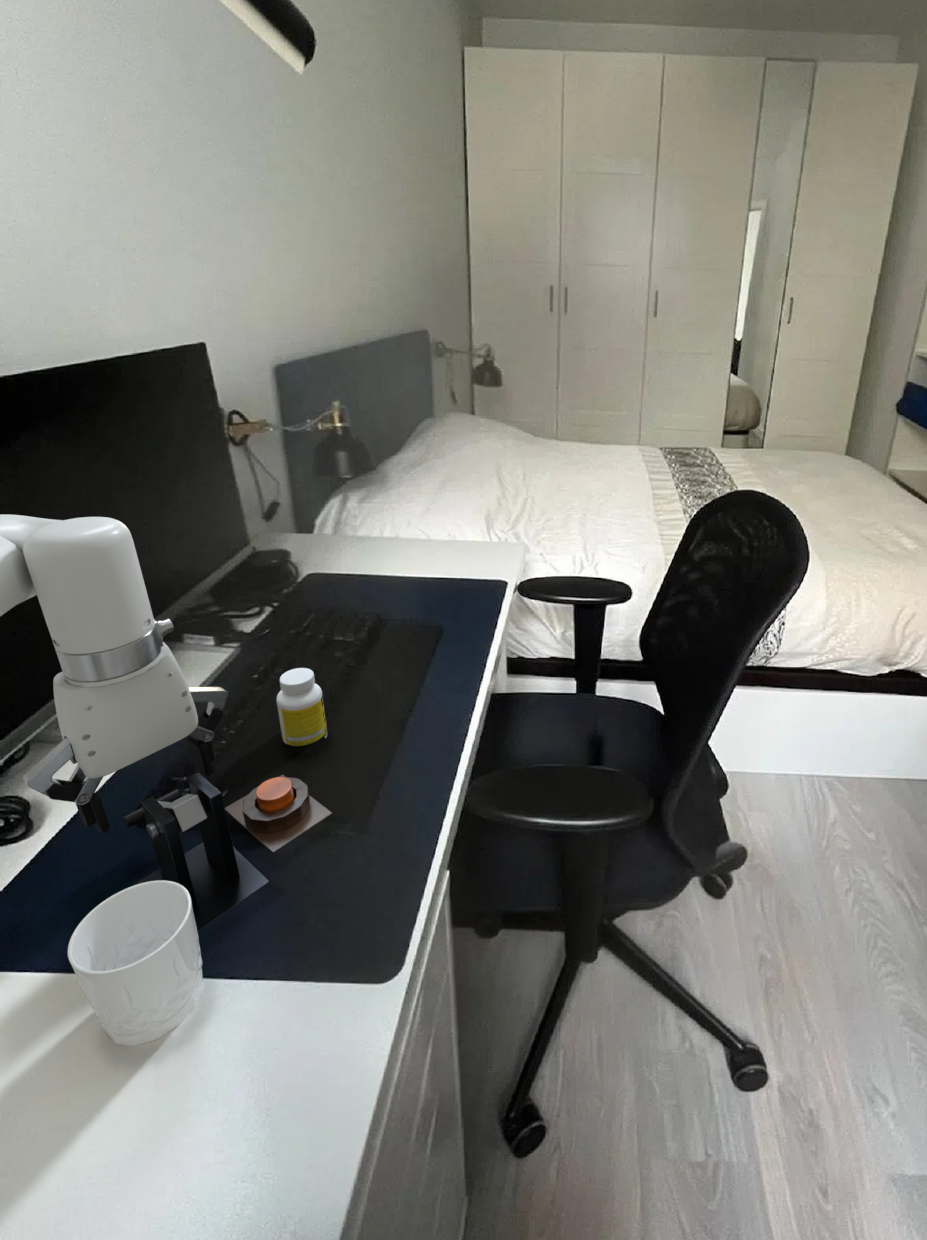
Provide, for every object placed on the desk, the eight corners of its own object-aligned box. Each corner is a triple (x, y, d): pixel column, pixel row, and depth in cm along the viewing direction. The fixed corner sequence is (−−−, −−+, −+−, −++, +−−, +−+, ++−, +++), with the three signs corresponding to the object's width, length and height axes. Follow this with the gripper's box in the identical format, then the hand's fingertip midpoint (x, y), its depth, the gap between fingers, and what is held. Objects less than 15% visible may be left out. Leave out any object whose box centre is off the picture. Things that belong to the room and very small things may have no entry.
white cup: (81, 1024, 52) (47, 937, 48) (181, 947, 58) (158, 864, 55) (131, 1085, 48) (99, 995, 45) (233, 995, 55) (212, 910, 51)
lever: (129, 833, 65) (119, 811, 65) (181, 804, 69) (172, 783, 69) (166, 842, 57) (155, 817, 57) (223, 809, 61) (213, 786, 61)
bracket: (137, 892, 63) (108, 797, 59) (220, 840, 70) (200, 752, 65) (186, 951, 58) (158, 852, 54) (271, 890, 64) (253, 796, 60)
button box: (225, 816, 73) (220, 795, 72) (284, 782, 78) (280, 762, 77) (274, 861, 67) (270, 839, 66) (334, 821, 73) (331, 800, 72)
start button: (251, 802, 71) (249, 790, 71) (282, 784, 74) (280, 772, 73) (269, 818, 69) (267, 805, 69) (300, 798, 72) (298, 786, 71)
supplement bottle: (335, 740, 85) (327, 676, 82) (294, 759, 82) (283, 694, 78) (316, 721, 89) (307, 660, 85) (276, 739, 85) (265, 675, 81)
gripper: (190, 605, 68) (222, 738, 75) (-23, 679, 55) (37, 832, 62) (227, 627, 64) (257, 765, 71) (5, 711, 51) (67, 871, 58)
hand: (154, 796), depth 66 cm, fingers open, 9 cm apart
